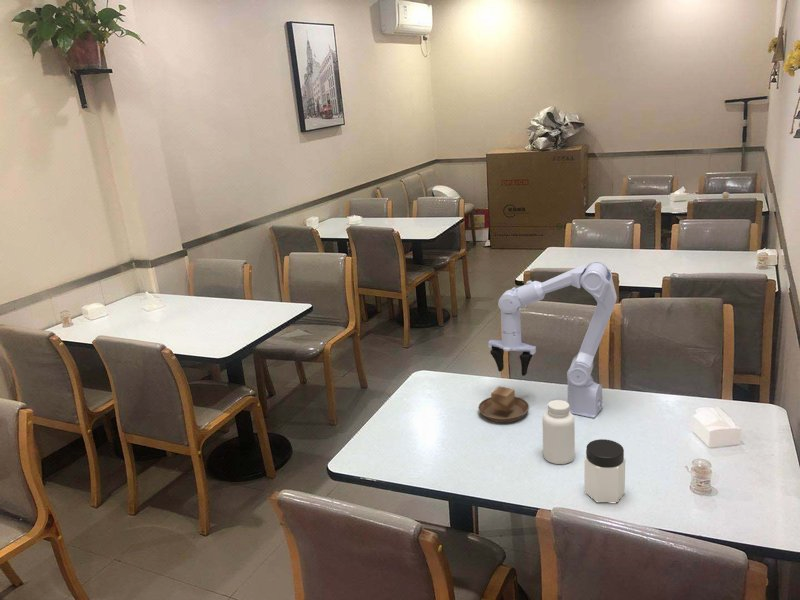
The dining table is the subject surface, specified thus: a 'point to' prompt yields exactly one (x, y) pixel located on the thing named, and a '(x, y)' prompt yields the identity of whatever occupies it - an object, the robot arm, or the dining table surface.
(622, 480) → the jar
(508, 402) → the cube
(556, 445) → the pill bottle
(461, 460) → the dining table surface
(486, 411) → the saucer
